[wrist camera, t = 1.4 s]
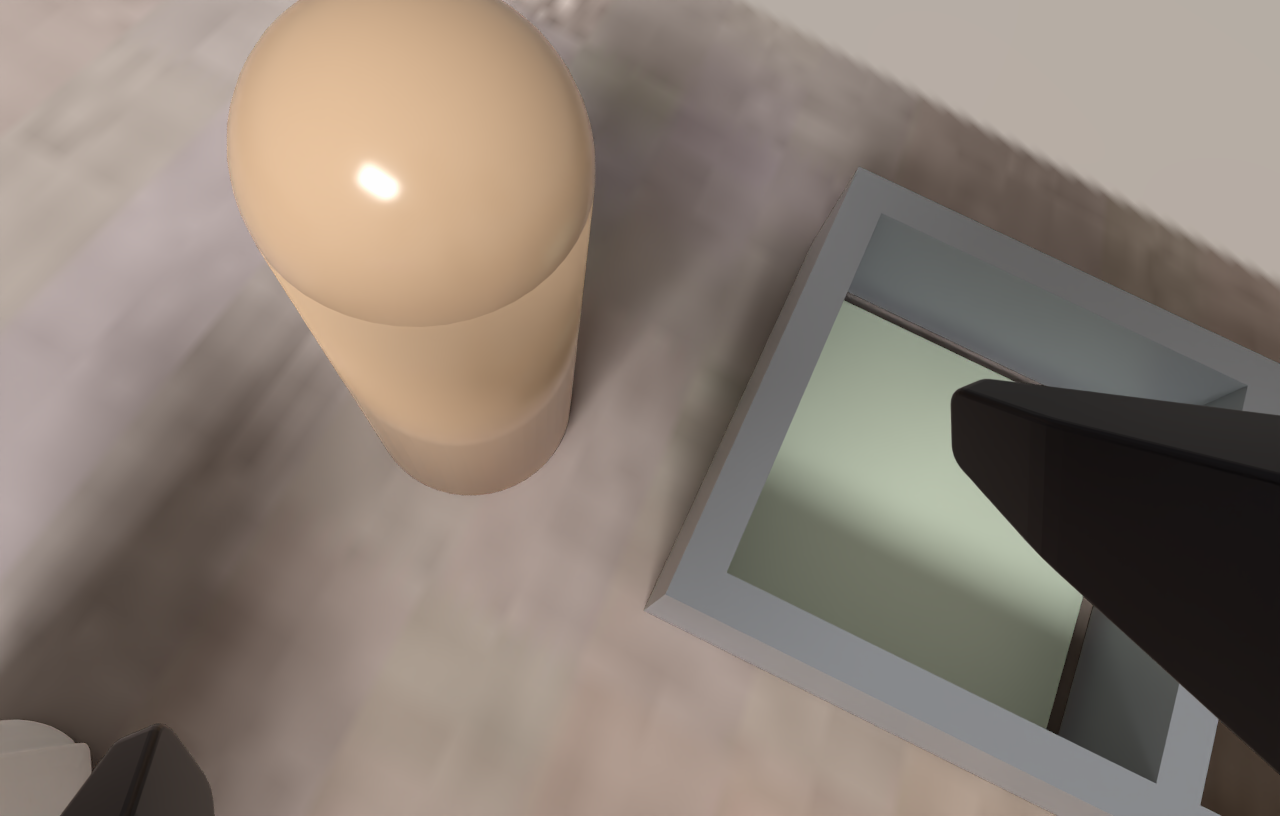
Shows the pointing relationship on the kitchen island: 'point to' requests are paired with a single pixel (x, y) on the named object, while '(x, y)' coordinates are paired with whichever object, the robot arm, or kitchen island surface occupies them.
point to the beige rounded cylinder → (425, 220)
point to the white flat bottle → (39, 768)
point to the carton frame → (942, 510)
